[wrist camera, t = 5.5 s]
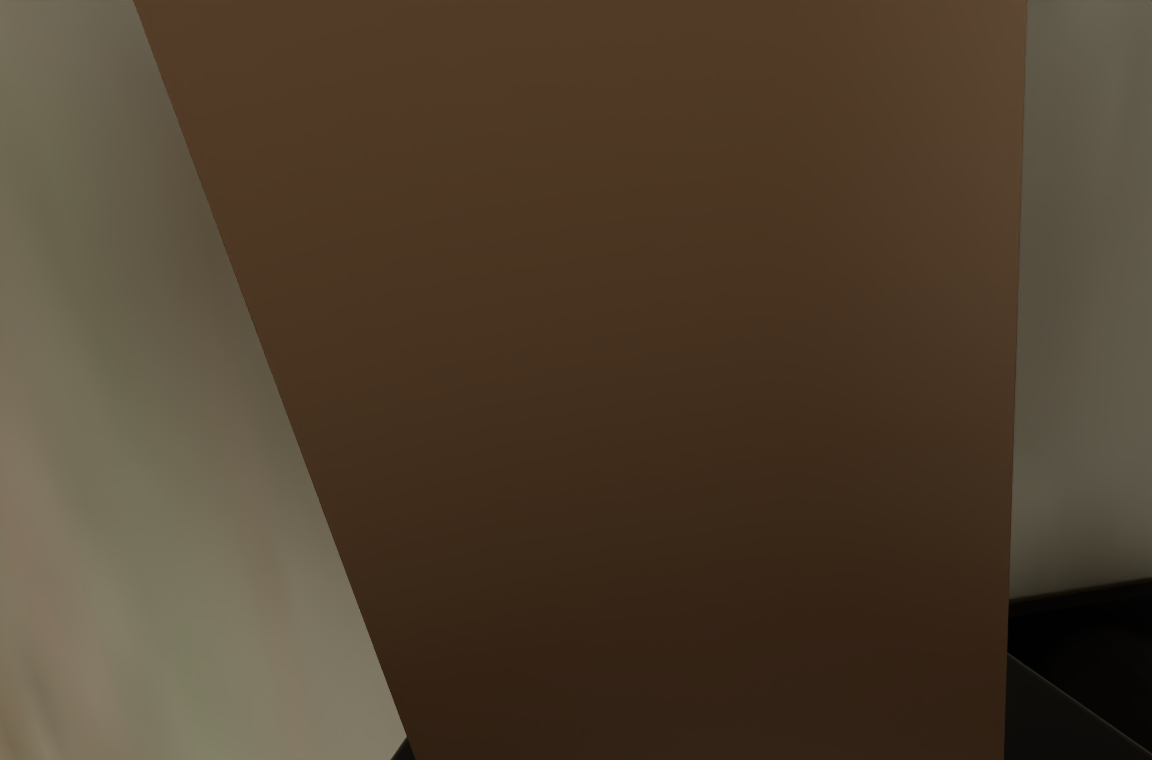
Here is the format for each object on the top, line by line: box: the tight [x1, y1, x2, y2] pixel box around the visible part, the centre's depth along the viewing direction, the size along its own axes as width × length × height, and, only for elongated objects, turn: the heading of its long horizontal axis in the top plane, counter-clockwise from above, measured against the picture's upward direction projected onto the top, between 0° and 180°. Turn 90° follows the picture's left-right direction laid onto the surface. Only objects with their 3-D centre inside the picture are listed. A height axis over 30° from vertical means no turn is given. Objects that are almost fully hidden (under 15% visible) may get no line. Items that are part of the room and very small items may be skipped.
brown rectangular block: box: [133, 0, 1027, 760], centre depth 6 cm, size 12×4×6 cm, turn 11°
